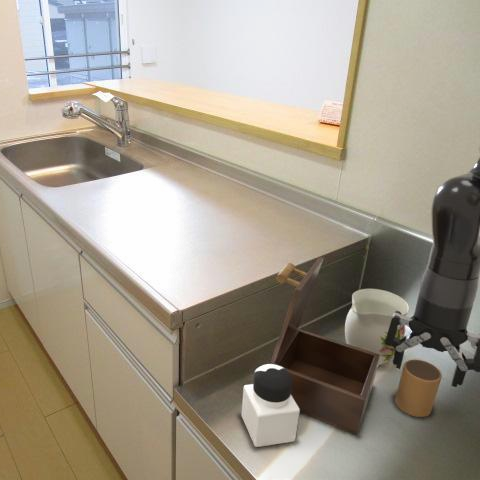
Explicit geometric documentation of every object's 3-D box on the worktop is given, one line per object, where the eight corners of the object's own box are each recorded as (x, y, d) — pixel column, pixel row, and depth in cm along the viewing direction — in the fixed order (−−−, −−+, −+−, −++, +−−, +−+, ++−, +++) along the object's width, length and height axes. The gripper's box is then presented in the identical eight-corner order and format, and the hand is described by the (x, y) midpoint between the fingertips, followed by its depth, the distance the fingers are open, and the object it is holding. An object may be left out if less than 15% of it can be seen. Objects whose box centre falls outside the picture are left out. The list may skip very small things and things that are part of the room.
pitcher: (421, 352, 95) (436, 296, 89) (367, 385, 86) (380, 325, 81) (374, 327, 104) (386, 274, 98) (321, 354, 95) (330, 298, 89)
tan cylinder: (426, 422, 78) (437, 386, 75) (390, 406, 82) (399, 371, 78) (434, 403, 82) (445, 368, 79) (400, 388, 85) (409, 354, 82)
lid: (323, 258, 82) (296, 247, 84) (300, 290, 72) (270, 277, 74) (298, 326, 90) (274, 315, 93) (274, 365, 80) (247, 351, 82)
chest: (372, 387, 86) (380, 354, 83) (356, 435, 76) (364, 400, 72) (292, 358, 94) (296, 327, 91) (268, 399, 84) (271, 365, 80)
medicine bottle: (296, 442, 75) (304, 385, 70) (254, 448, 74) (260, 391, 69) (278, 410, 81) (285, 356, 76) (240, 415, 80) (245, 361, 75)
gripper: (393, 293, 73) (377, 372, 80) (500, 318, 66) (473, 404, 72) (400, 274, 79) (385, 350, 85) (500, 296, 71) (475, 377, 78)
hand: (425, 375), depth 79 cm, fingers open, 8 cm apart
